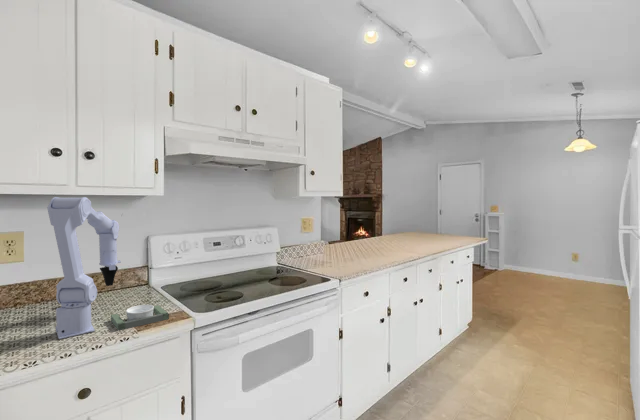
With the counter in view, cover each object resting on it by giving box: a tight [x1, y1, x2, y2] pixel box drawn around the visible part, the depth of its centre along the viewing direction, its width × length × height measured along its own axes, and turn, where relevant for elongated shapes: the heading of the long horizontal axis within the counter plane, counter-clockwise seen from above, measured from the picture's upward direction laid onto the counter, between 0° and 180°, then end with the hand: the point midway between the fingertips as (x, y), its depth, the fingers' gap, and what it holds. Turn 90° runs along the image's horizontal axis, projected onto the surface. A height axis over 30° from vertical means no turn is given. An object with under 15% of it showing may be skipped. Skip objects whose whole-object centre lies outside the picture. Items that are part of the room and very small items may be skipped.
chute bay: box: [110, 304, 170, 331], centre depth 123 cm, size 16×12×2 cm
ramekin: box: [125, 304, 155, 321], centre depth 123 cm, size 9×9×4 cm
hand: (109, 285), depth 134 cm, fingers closed
